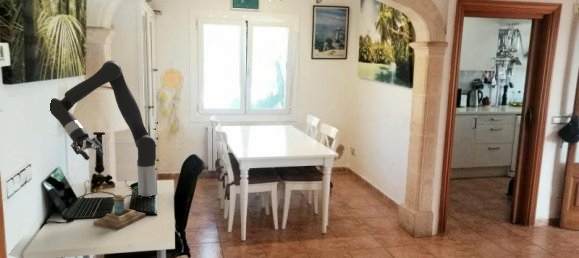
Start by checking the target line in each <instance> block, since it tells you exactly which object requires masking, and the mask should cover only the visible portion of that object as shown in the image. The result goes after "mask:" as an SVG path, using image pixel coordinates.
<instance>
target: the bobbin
mask: <svg viewBox="0 0 579 258" xmlns="http://www.w3.org/2000/svg"><path fill="white" fill-rule="evenodd" d="M125 199H126V195H124V194H117V195H116V194H115V195H113V196H112V200H113V203H114V204H113V206H114V209H113V210H114V212H115V215H117V216H122V215H124V214H125V208H126V207H125Z"/></svg>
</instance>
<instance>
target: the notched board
mask: <svg viewBox="0 0 579 258" xmlns="http://www.w3.org/2000/svg"><path fill="white" fill-rule="evenodd" d="M145 217H146V213H144V212H140V211H136V210H134V209H129V208H126V207H125V214H124V215H122V216H117V215H115V211H114V212H112V213H106V214H105V216H103V217H101V218H99V219H96V220H93V226H98V227H104V228H108V229H112V230H117V231H118V230H120V229H123V228H124V227H127V226H129V225H131V224H133V223H135V222H136V221H138V220H141V219H143V218H145Z"/></svg>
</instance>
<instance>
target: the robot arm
mask: <svg viewBox="0 0 579 258" xmlns="http://www.w3.org/2000/svg"><path fill="white" fill-rule="evenodd" d="M107 83H109V85H110V86H111V88H112V91H113V95H114V99H115V101H116V102H115V103H116V105H117V107H118V109H119V112H120V114H121V116H122V118H123V119H124V122H125V124H126V125H127V127H128V128H129V130H130V132H131V135H132V137H133V141H134V144H135V147H136V148H137V161H136V162H137V164H136V165H137V188H138V189H137V191H138V196H139V195H141V196H152V195H156V196H157V195H158V177H157V176H156V175H157V174H156V173H157V172H156V160H157V149H156V148H157V147H156V144H157V143H156V141H155V140H154V138H153V137H151V135H150V134H149V132H148V130H147V128H146V127H145V125H144V122H143V118H142V113H141V111H140V107H139V106H138V105H139V104H138V103H137V101H136V99H135V97H134V95H133V93H132V91H131V90H130V88H129V87H128V84H127V83H126V79H125V76H124V73H123V70H122V67H121V65H120V64H119V62H117V61H115V60H107V61H106V62H105V63H103V64H102V66H101V67H100V68H99V69H98V71H97V72H95V73H94V74H92V76H90V77H88V78H87V79H85V80H83V81H81V82H79V83H77V84H76V85H74V86H73V87H71V88H69V89H68V90H67V91H66V92H65V93H64V97H63V98H62V99H59V98H55V97H54V98H53V97H52V98H51V99H52V100H51V103H50V111H51V113H50V114H51V115H52V116H53V117H54V118H55V119H56V120H57V121H58V122H59V123H60V125H61V126H62V127H63V129H64V130H65V132H66V134H67V135H68V136H69V138H70V139H71V140H72V143H71V144H70V147H71V149H73V152H74V153H75V154H76V155H78V156H79V155H80V156H82V159H84V160H85V161H88V160H90V159H91V157H90V155H89V154H88V153H87V151H86V150H87V149H88V150H89V149H90V150H94V151H96V153H97V154H98V156H99V157H103V155H104V152H103V151H102V149H101V148H102V147H103V144H102V143H101V142H100V141H99V140H98V138H97V137H96V136H95V137H93V138H91V137H90V136H89V135H90V134H89V133H88V132H87V130H86V129H85V128H84V126H83V125H82V124H81V123H80V122H79V121H78V120H77V118H76V117H75V115H74V114H73V113H71V112H70V110H71V109H72V108H73V107H74V106H75V104H77V103H78V102H80V101H81V100H83V99H85V98H86V97H87V96H88V95H90V94H92V92H94V91H95V90H98V89H99V88H100V87H102V86H103V85H106V84H107ZM50 111H49V112H50Z"/></svg>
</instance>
